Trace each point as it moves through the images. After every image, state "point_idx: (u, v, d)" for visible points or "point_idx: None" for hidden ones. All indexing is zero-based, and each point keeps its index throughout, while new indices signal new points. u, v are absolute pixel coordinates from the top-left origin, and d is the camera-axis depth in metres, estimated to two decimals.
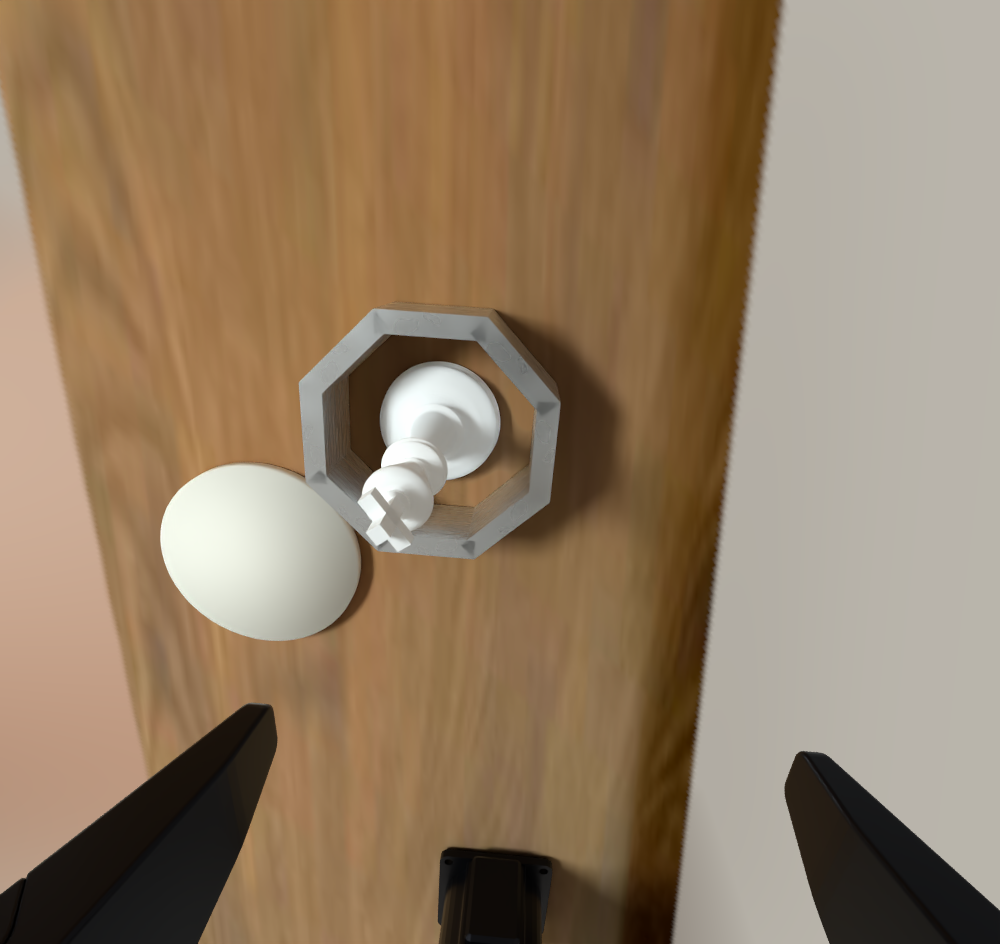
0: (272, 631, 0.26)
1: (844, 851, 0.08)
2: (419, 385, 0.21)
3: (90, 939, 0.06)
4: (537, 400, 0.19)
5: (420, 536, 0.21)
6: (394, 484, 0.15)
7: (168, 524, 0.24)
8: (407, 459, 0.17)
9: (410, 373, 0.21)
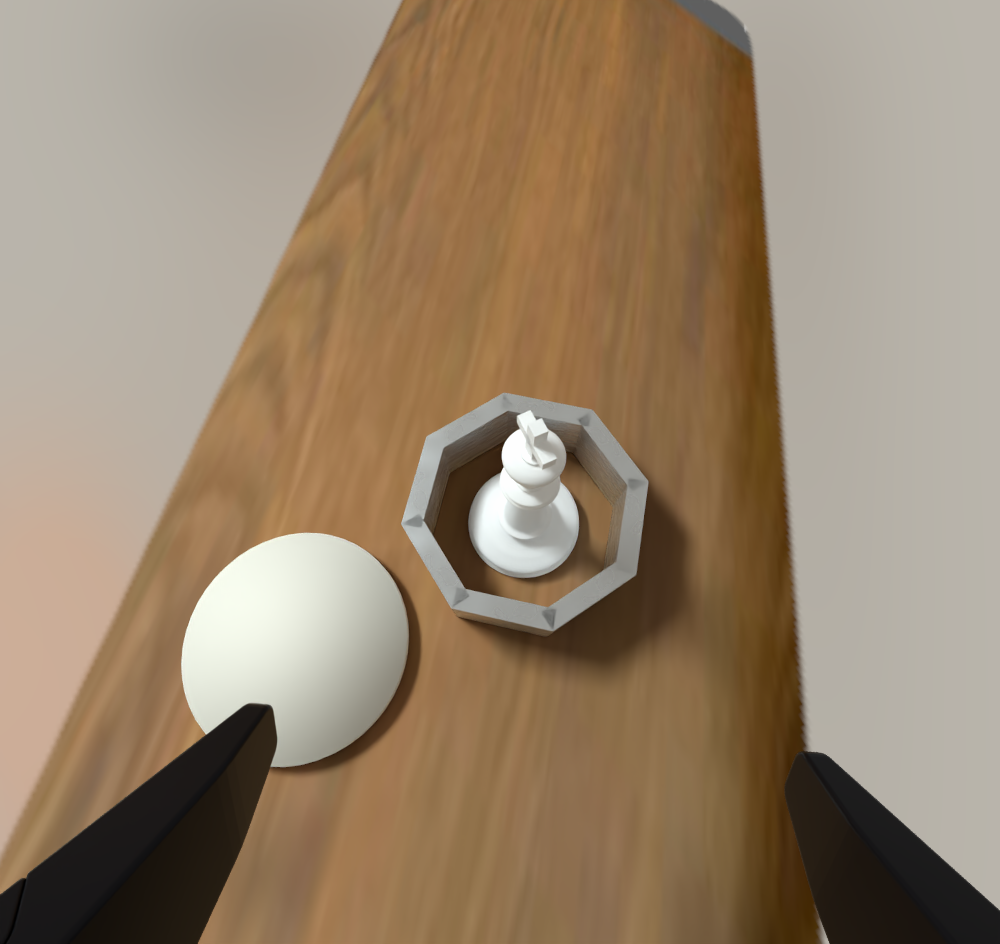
0: None
1: (844, 851, 0.08)
2: None
3: (90, 939, 0.06)
4: (628, 476, 0.22)
5: None
6: None
7: (216, 585, 0.23)
8: None
9: None
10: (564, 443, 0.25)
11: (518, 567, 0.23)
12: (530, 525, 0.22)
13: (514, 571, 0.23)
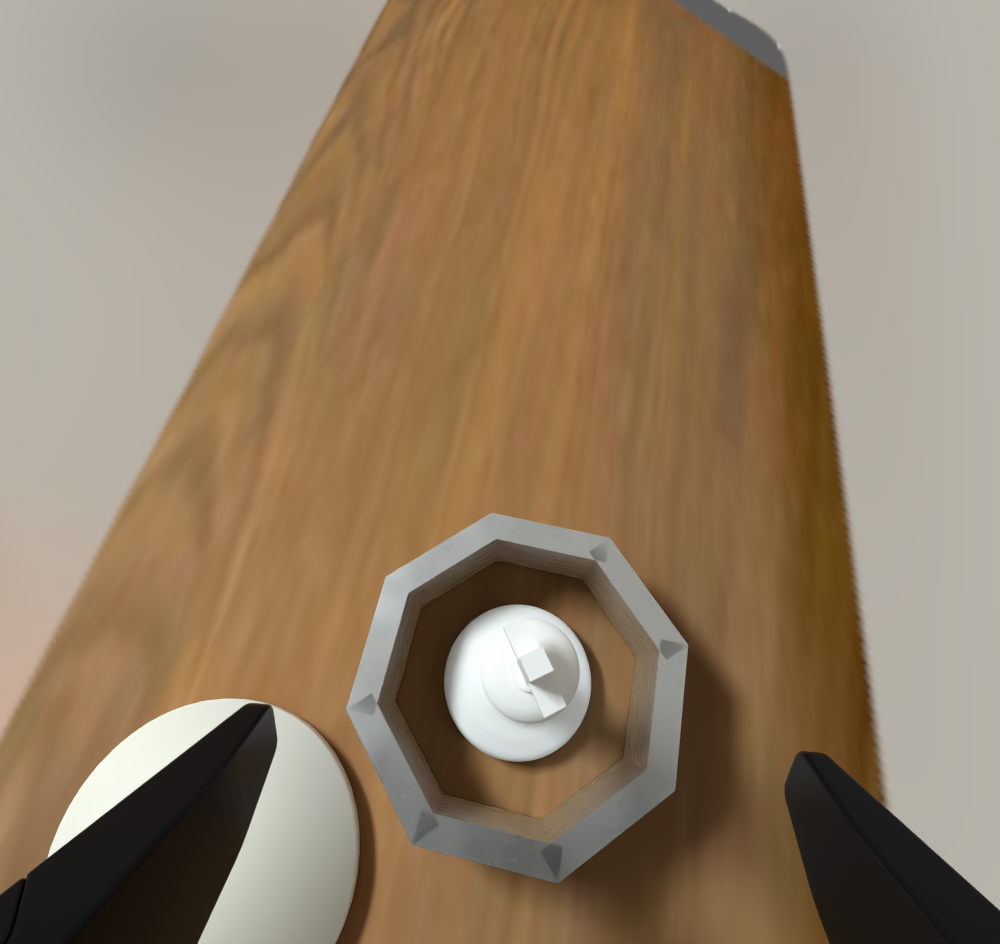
0: None
1: (844, 851, 0.08)
2: (506, 621, 0.18)
3: (90, 939, 0.06)
4: (660, 637, 0.16)
5: (482, 826, 0.14)
6: (535, 638, 0.11)
7: (98, 778, 0.17)
8: None
9: (498, 608, 0.19)
10: (571, 571, 0.19)
11: (509, 753, 0.17)
12: None
13: (504, 758, 0.17)
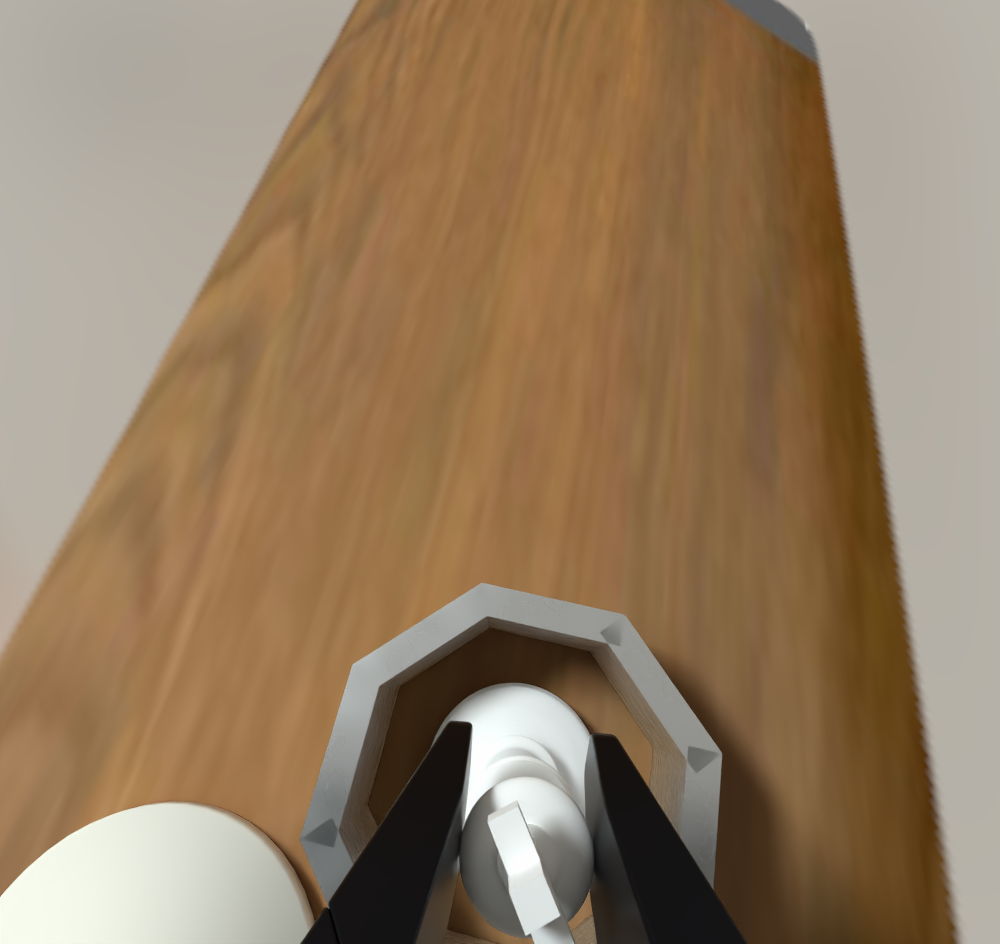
0: None
1: (600, 828, 0.08)
2: (500, 708, 0.15)
3: None
4: (688, 744, 0.13)
5: None
6: (533, 812, 0.08)
7: (4, 908, 0.14)
8: None
9: (490, 691, 0.16)
10: (577, 645, 0.16)
11: None
12: None
13: None
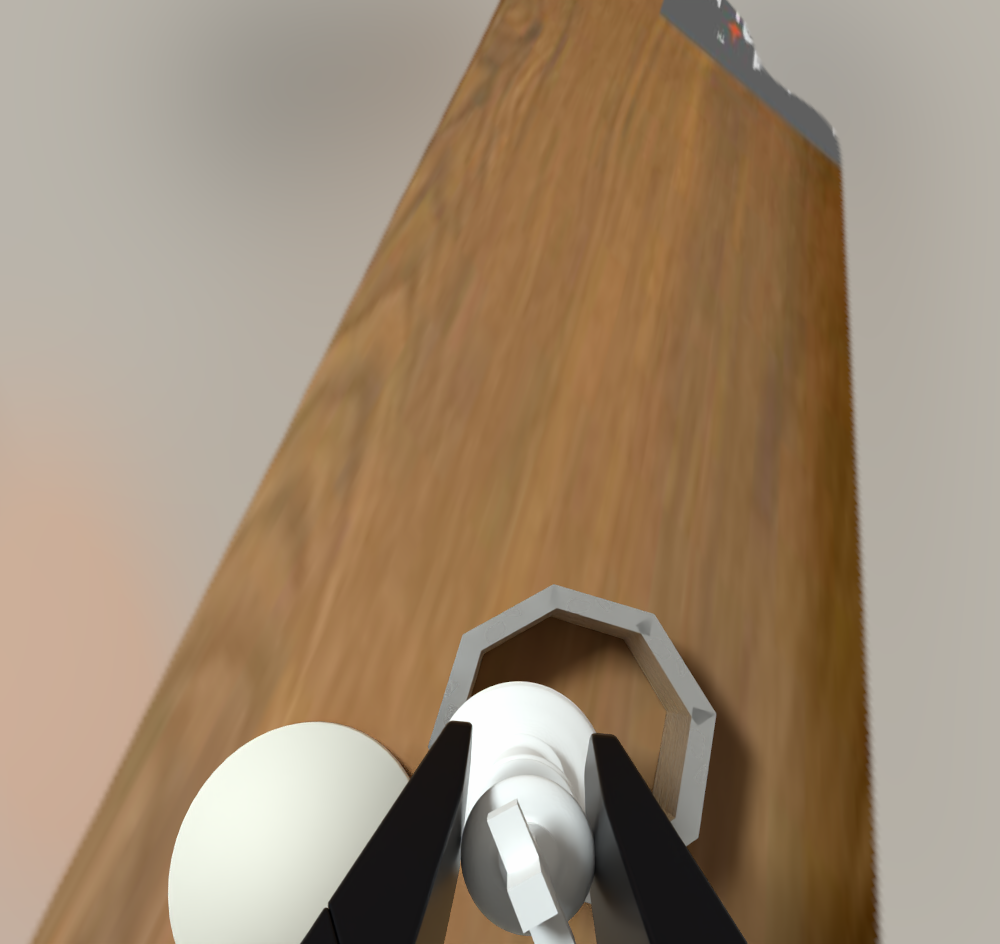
0: None
1: (600, 828, 0.08)
2: (506, 707, 0.15)
3: None
4: (693, 705, 0.19)
5: None
6: (534, 810, 0.08)
7: (215, 782, 0.20)
8: None
9: (496, 689, 0.16)
10: (616, 634, 0.22)
11: None
12: None
13: None
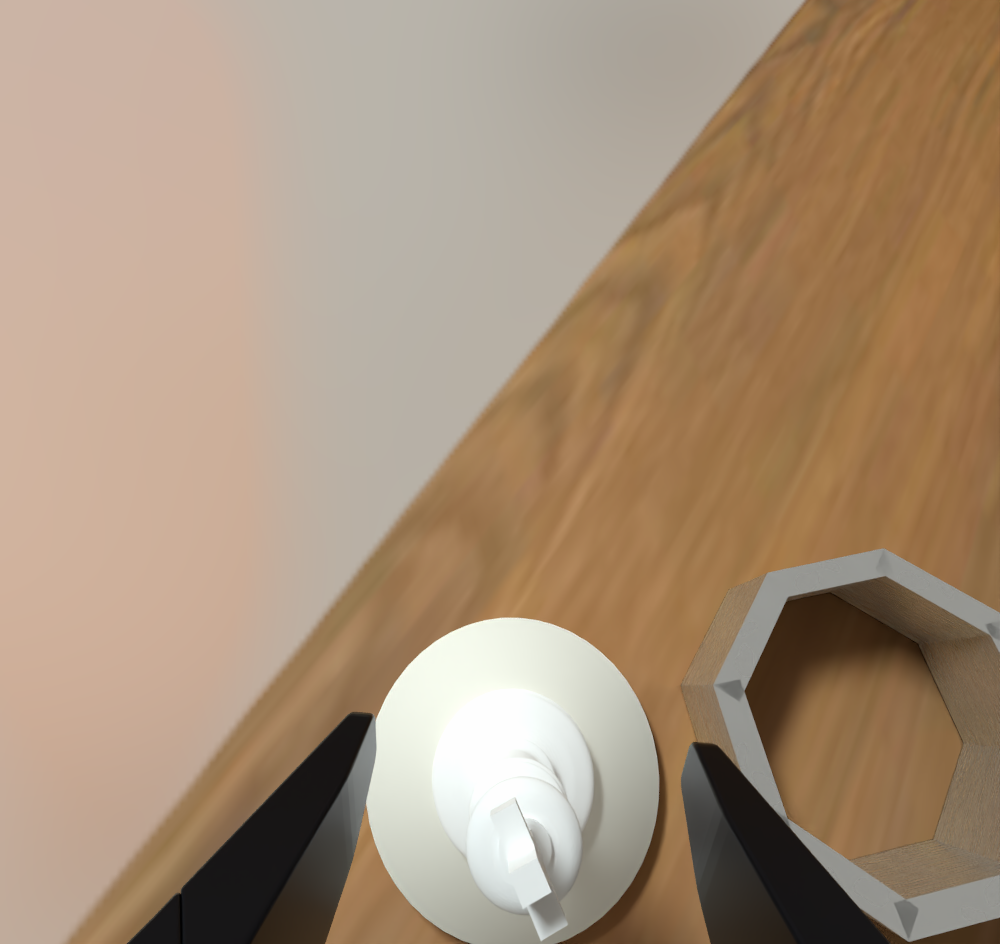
0: (444, 904, 0.16)
1: (718, 839, 0.08)
2: (500, 713, 0.17)
3: None
4: None
5: (836, 852, 0.14)
6: (530, 807, 0.09)
7: (435, 653, 0.18)
8: None
9: (490, 697, 0.17)
10: (921, 633, 0.18)
11: None
12: None
13: None
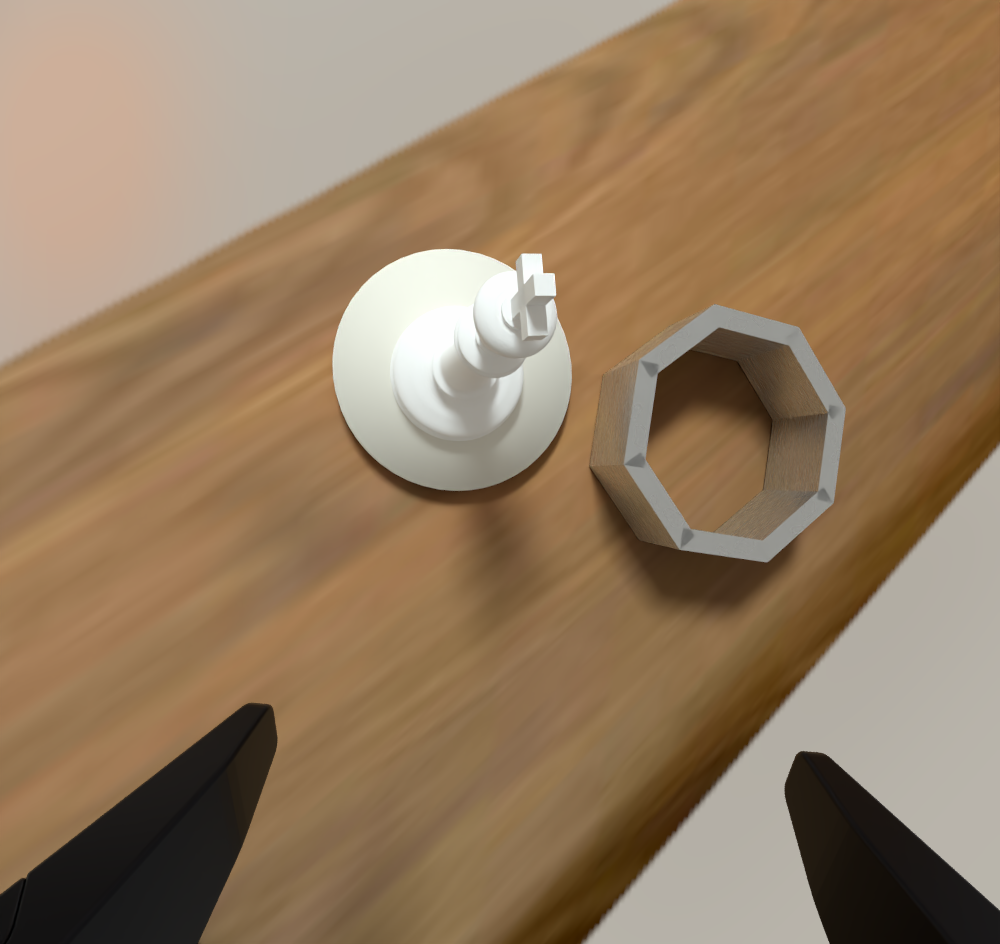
0: (374, 436, 0.20)
1: (844, 851, 0.08)
2: None
3: (90, 939, 0.06)
4: (824, 486, 0.22)
5: (664, 489, 0.20)
6: None
7: (427, 259, 0.20)
8: None
9: (464, 307, 0.20)
10: (781, 409, 0.24)
11: (433, 424, 0.19)
12: (466, 385, 0.18)
13: (427, 426, 0.19)
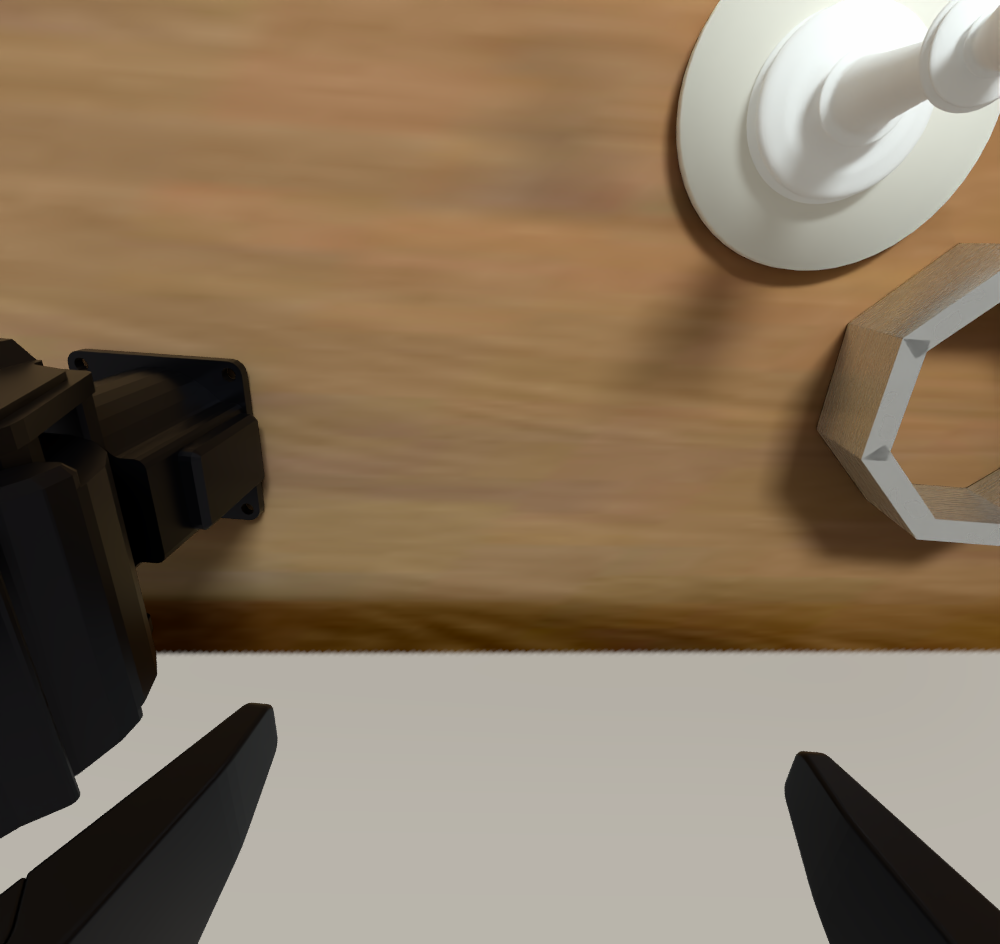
0: (700, 107, 0.16)
1: (844, 851, 0.08)
2: None
3: (90, 939, 0.06)
4: None
5: (909, 396, 0.17)
6: None
7: None
8: None
9: None
10: None
11: (768, 140, 0.16)
12: (853, 113, 0.14)
13: (760, 138, 0.16)
